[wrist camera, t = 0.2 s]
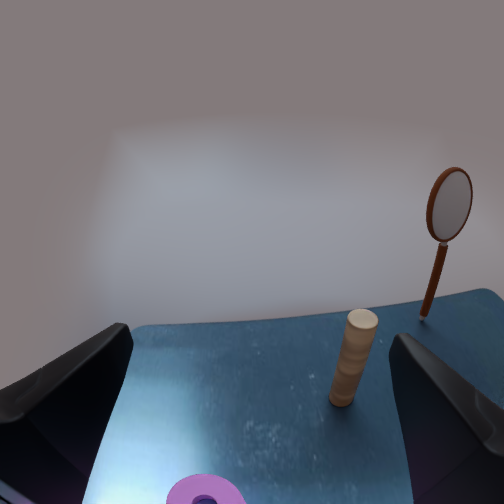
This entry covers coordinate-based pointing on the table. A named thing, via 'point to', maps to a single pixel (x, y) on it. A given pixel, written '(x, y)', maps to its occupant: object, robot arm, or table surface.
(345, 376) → the stirring stick
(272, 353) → the table surface
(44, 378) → the robot arm
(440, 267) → the magnifying glass
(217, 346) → the table surface
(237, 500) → the bracket
